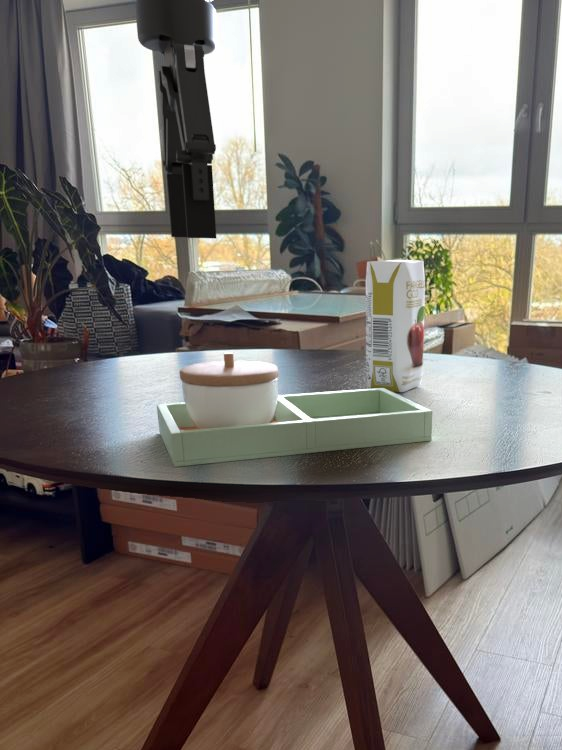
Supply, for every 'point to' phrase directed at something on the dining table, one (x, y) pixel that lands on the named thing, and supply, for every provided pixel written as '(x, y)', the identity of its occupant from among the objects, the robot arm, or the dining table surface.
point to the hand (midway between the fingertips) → (192, 238)
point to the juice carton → (395, 324)
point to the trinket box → (230, 392)
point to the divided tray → (299, 427)
